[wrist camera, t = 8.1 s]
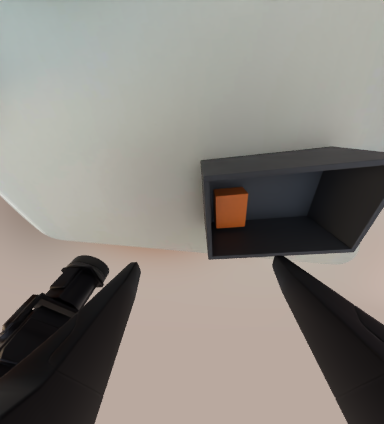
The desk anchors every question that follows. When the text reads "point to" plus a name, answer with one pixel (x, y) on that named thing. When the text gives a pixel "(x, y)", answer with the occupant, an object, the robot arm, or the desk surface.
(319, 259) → the desk surface
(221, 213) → the block
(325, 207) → the bin
